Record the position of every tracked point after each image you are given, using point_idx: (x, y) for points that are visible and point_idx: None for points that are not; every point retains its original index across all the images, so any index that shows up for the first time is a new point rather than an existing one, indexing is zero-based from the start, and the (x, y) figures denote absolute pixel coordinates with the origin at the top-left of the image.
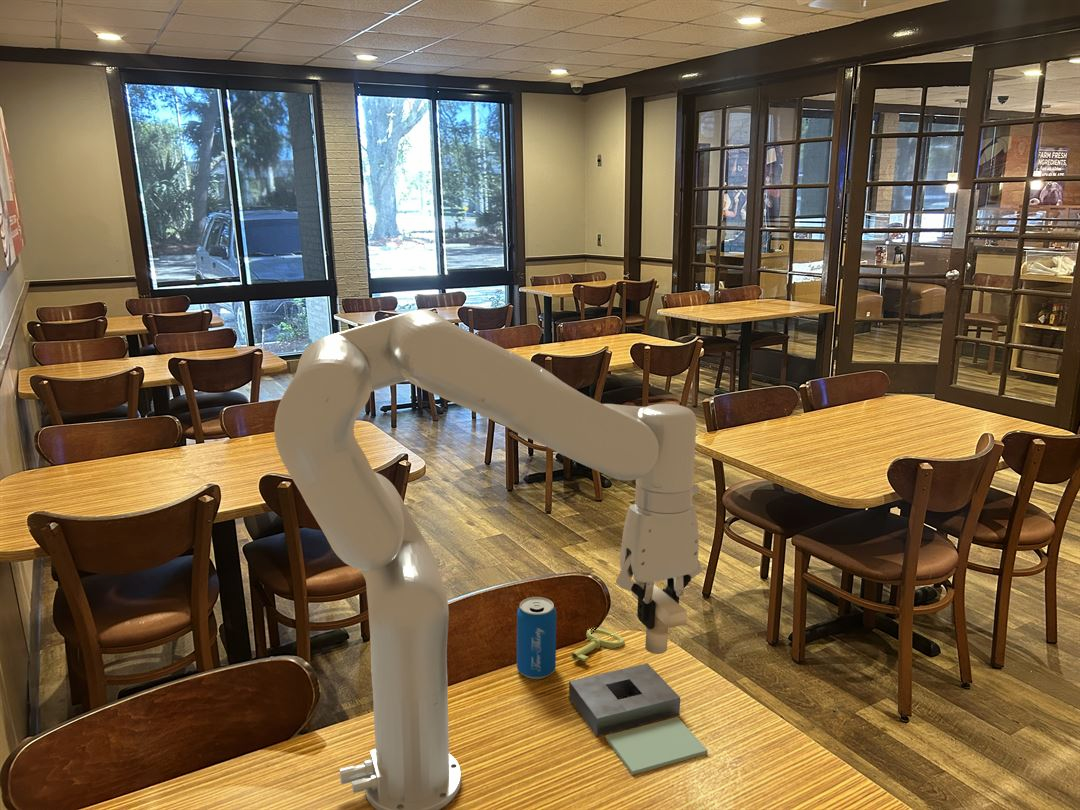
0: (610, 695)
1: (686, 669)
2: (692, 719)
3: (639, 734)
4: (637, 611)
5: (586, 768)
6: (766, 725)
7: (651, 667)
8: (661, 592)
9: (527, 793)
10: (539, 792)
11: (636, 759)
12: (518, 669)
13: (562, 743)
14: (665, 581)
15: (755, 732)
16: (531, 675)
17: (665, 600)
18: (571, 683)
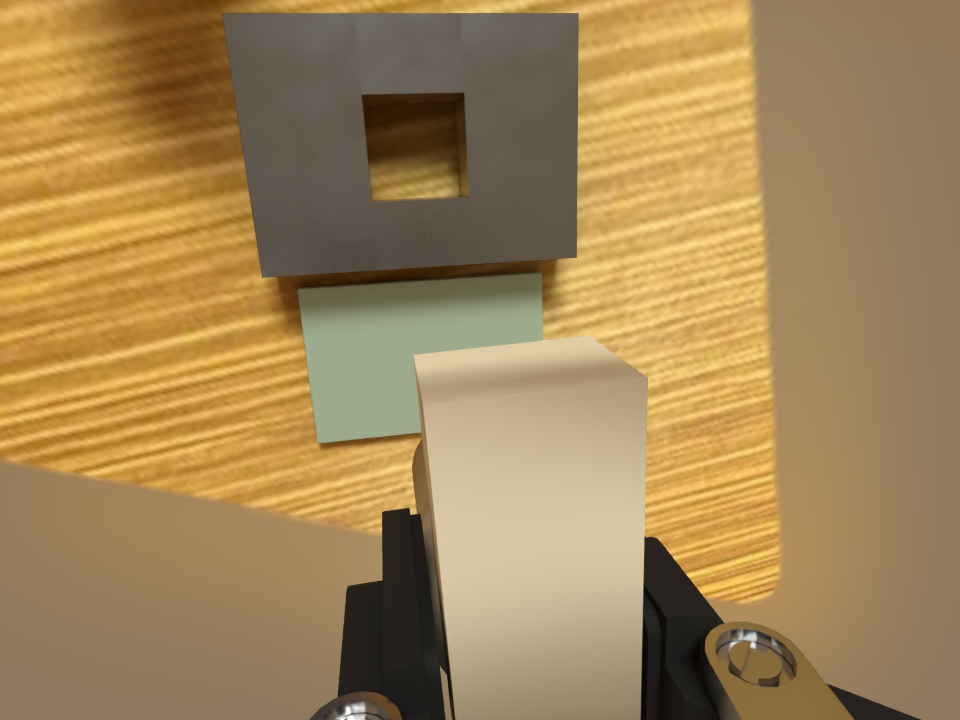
0: (354, 168)
1: (712, 25)
2: (581, 279)
3: (398, 313)
4: (345, 612)
5: (202, 384)
6: (740, 359)
7: (577, 48)
8: (614, 678)
9: (5, 432)
10: (42, 436)
11: (347, 405)
12: None
13: (156, 265)
14: (733, 708)
15: (698, 375)
16: None
17: None
18: (227, 34)
